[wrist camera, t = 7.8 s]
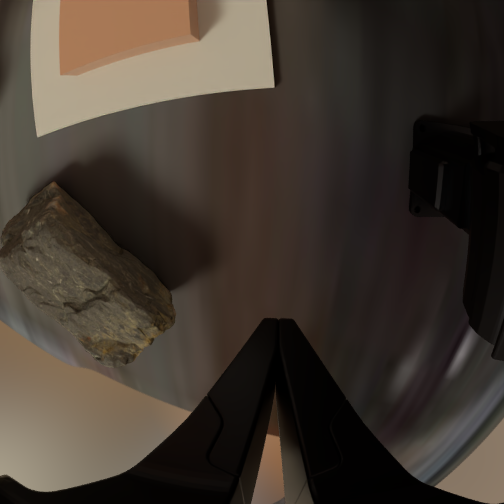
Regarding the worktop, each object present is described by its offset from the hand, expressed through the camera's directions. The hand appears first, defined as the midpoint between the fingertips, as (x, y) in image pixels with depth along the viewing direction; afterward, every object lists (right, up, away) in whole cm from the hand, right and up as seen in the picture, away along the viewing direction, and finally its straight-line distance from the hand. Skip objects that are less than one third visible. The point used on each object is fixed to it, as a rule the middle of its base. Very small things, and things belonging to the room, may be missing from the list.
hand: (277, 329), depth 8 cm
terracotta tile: (-4, +18, +3) cm, 18 cm away
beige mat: (-9, +18, +5) cm, 21 cm away
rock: (-13, +3, +14) cm, 20 cm away
